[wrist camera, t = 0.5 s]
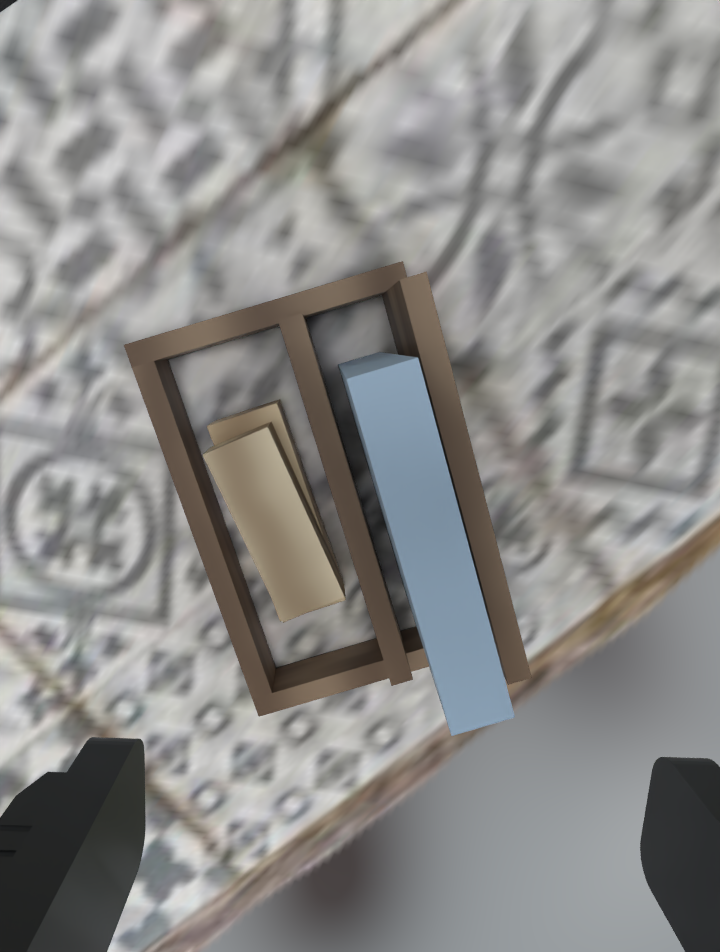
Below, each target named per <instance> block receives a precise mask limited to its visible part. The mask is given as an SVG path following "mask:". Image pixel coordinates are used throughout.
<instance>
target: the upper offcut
mask: <svg viewBox="0 0 720 952" xmlns="http://www.w3.org/2000/svg"><path fill="white" fill-rule="evenodd" d="M203 457H204V459H205V461H206V463H207V465H208V467H209V469H210V471H211V473H212V475H213V477H214V479H215V482H216V484H217V486H218V488H219V490H220V492H221V494H222V496H223V498H224V500H225V502H226V504H227V507H228V509H229V511H230V513H231V515H232V517H233V519H234V521H235V523H236V525H237V527H238V529H239V532H240V534H241V536H242V538H243V540H244V542H245V544H246V546H247V548H248V550H249V552H250V554H251V556H252V559H253V561H254V563H255V565H256V567H257V569H258V571H259V573H260V575H261V577H262V579H263V581H264V584H265V586H266V588H267V590H268V592H269V594H270V596H271V598H272V600H273V602H274V604H275V606H276V609H277V611H278V613H279V615H280V617H281V619H282V621H283V623H284V622H286V621H288V620H291V619H293V618H296V617H298V616H300V615H303V614H305V613H307V612H310V611H312V610H315V609H317V608H319V607H322V606H324V605H327V604H329V603H331V602H334V601H336V600H339V599H341V598H343V597H345V595H344V585H343V579H342V577H341V575H340V572H339V570H338V568H337V566H336V564H335V561H334V559H333V557H332V555H331V553H330V550H329V548H328V546H327V544H326V541H325V539H324V537H323V535H322V533H321V530H320V528H319V526H318V524H317V521H316V519H315V517H314V515H313V513H312V510H311V508H310V506H309V504H308V502H307V499H306V497H305V495H304V493H303V490H302V488H301V486H300V484H299V482H298V479H297V477H296V475H295V473H294V471H293V468H292V466H291V464H290V462H289V459H288V457H287V455H286V453H285V451H284V448H283V446H282V444H281V442H280V439H279V437H278V435H277V433H276V431H275V428H274V426H273V424H272V422H269V423H266V424H264V425H262V426H259V427H257V428H255V429H252V430H250V431H248V432H245V433H243V434H241V435H238V436H236V437H234V438H231V439H229V440H227V441H224V442H222V443H220V444H217V445H215V446H212V447H211V448H209V449H208V450H207V451H206V452H205V453H204V454H203Z"/></svg>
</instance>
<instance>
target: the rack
mask: <svg viewBox="0 0 720 952" xmlns="http://www.w3.org/2000/svg"><path fill="white" fill-rule="evenodd" d="M381 295H382V297H383V301H384V304H385V308H386V312H387V315H388V319H389V323H390V326H391V330H392V334H393V337H394V341H395V344H396V348H397V352H398V355H404V356H411V357H418V359H419V363H420V367H421V370H422V374H423V378H424V381H425V385H426V389H427V393H428V396H429V400H430V404H431V407H432V411H433V415H434V419H435V422H436V426H437V430H438V433H439V437H440V441H441V445H442V448H443V452H444V456H445V460H446V463H447V467H448V471H449V474H450V478H451V482H452V486H453V489H454V493H455V497H456V500H457V504H458V508H459V512H460V515H461V519H462V523H463V526H464V530H465V534H466V538H467V541H468V545H469V549H470V552H471V556H472V560H473V564H474V567H475V571H476V575H477V578H478V582H479V586H480V590H481V593H482V597H483V601H484V604H485V608H486V612H487V616H488V619H489V623H490V627H491V630H492V634H493V638H494V642H495V645H496V649H497V653H498V656H499V660H500V664H501V668H502V671H503V675H504V678H505V679H506V681H507V683H508V685H509V684H512V683H515V682H519V681H522V680H526V679H529V678H532V677H531V673H530V670H529V666H528V662H527V658H526V654H525V650H524V646H523V643H522V639H521V635H520V631H519V627H518V623H517V619H516V615H515V612H514V608H513V604H512V600H511V596H510V592H509V588H508V585H507V581H506V577H505V573H504V569H503V565H502V561H501V558H500V554H499V550H498V546H497V542H496V538H495V534H494V531H493V527H492V523H491V519H490V515H489V511H488V507H487V504H486V500H485V496H484V492H483V488H482V484H481V480H480V477H479V473H478V469H477V465H476V461H475V457H474V453H473V450H472V446H471V442H470V438H469V434H468V430H467V426H466V423H465V419H464V415H463V411H462V407H461V403H460V399H459V395H458V392H457V388H456V384H455V380H454V376H453V372H452V368H451V365H450V361H449V357H448V353H447V349H446V345H445V341H444V338H443V334H442V330H441V326H440V322H439V318H438V314H437V311H436V307H435V303H434V299H433V295H432V291H431V287H430V284H429V280H428V276H427V272H424V273H421V274H417V275H414V276H411V277H407V275H406V271H405V268H404V264H403V261H402V262H399V263H395V264H392V265H389V266H385V267H382V268H379V269H375V270H372V271H369V272H365V273H362V274H359V275H355V276H352V277H349V278H345V279H342V280H339V281H335V282H332V283H329V284H325V285H322V286H319V287H315V288H312V289H309V290H305V291H302V292H299V293H295V294H292V295H289V296H285V297H282V298H279V299H275V300H272V301H269V302H265V303H262V304H259V305H255V306H252V307H249V308H245V309H242V310H239V311H235V312H232V313H229V314H225V315H222V316H219V317H215V318H212V319H209V320H205V321H202V322H199V323H195V324H192V325H189V326H185V327H182V328H179V329H175V330H172V331H169V332H165V333H162V334H159V335H155V336H152V337H149V338H145V339H142V340H139V341H135V342H132V343H129V344H125V345H124V347H125V350H126V352H127V355H128V358H129V361H130V363H131V366H132V369H133V372H134V374H135V377H136V380H137V383H138V385H139V388H140V391H141V394H142V396H143V399H144V402H145V405H146V407H147V410H148V413H149V416H150V418H151V421H152V424H153V427H154V429H155V432H156V435H157V438H158V440H159V443H160V446H161V449H162V451H163V454H164V457H165V460H166V462H167V465H168V468H169V471H170V473H171V476H172V479H173V482H174V484H175V487H176V490H177V493H178V495H179V498H180V501H181V504H182V506H183V509H184V512H185V515H186V517H187V520H188V523H189V526H190V528H191V531H192V534H193V537H194V539H195V542H196V545H197V548H198V550H199V553H200V556H201V559H202V562H203V564H204V567H205V570H206V573H207V575H208V578H209V581H210V584H211V586H212V589H213V592H214V595H215V597H216V600H217V603H218V606H219V608H220V611H221V614H222V617H223V619H224V622H225V625H226V628H227V630H228V633H229V636H230V639H231V641H232V644H233V647H234V650H235V652H236V655H237V658H238V661H239V663H240V666H241V669H242V672H243V674H244V677H245V680H246V683H247V685H248V688H249V691H250V694H251V696H252V699H253V702H254V705H255V707H256V710H257V713H258V716H263V715H266V714H269V713H273V712H276V711H280V710H283V709H286V708H290V707H293V706H296V705H300V704H303V703H307V702H310V701H313V700H317V699H320V698H324V697H327V696H330V695H334V694H337V693H340V692H344V691H347V690H351V689H354V688H357V687H361V686H364V685H368V684H371V683H374V682H378V681H381V680H385V679H388V678H389V679H390V682H391V685H392V686H393V685H396V684H400V683H403V682H406V681H410V680H413V678H412V674H411V672H412V671H415V670H418V669H422V668H425V667H429V664H428V661H427V657H426V654H425V651H424V648H423V645H422V642H421V639H420V636H419V632H418V629H417V627H413V628H410V629H406V630H403V631H400V628H399V625H398V622H397V618H396V615H395V612H394V608H393V605H392V602H391V598H390V595H389V592H388V589H387V585H386V582H385V579H384V575H383V572H382V569H381V565H380V562H379V559H378V555H377V552H376V549H375V545H374V542H373V539H372V535H371V532H370V529H369V526H368V522H367V519H366V516H365V512H364V509H363V506H362V502H361V499H360V496H359V492H358V489H357V486H356V482H355V479H354V476H353V473H352V469H351V466H350V463H349V459H348V456H347V453H346V449H345V446H344V443H343V439H342V436H341V433H340V429H339V426H338V423H337V420H336V416H335V413H334V410H333V406H332V403H331V400H330V396H329V393H328V390H327V386H326V383H325V380H324V376H323V373H322V370H321V366H320V363H319V360H318V357H317V353H316V350H315V347H314V343H313V340H312V337H311V333H310V330H309V327H308V323H307V320H306V318H308V317H311V316H315V315H318V314H321V313H325V312H328V311H331V310H335V309H338V308H341V307H345V306H348V305H351V304H355V303H358V302H361V301H365V300H368V299H371V298H375V297H378V296H381ZM278 326H280V329H281V332H282V335H283V338H284V341H285V345H286V348H287V351H288V354H289V357H290V361H291V364H292V367H293V370H294V374H295V377H296V380H297V383H298V386H299V390H300V393H301V396H302V399H303V402H304V406H305V409H306V412H307V415H308V419H309V422H310V425H311V428H312V431H313V435H314V438H315V441H316V444H317V448H318V451H319V454H320V457H321V460H322V464H323V467H324V470H325V473H326V476H327V480H328V483H329V486H330V489H331V493H332V496H333V499H334V502H335V505H336V509H337V512H338V515H339V518H340V521H341V525H342V528H343V531H344V534H345V538H346V541H347V544H348V547H349V550H350V554H351V557H352V560H353V563H354V566H355V570H356V573H357V576H358V579H359V583H360V586H361V589H362V592H363V595H364V599H365V602H366V605H367V608H368V612H369V615H370V618H371V621H372V624H373V628H374V631H375V634H376V637H377V638H376V639H373V640H369V641H366V642H363V643H359V644H356V645H352V646H349V647H346V648H342V649H339V650H335V651H332V652H329V653H325V654H322V655H319V656H315V657H312V658H308V659H305V660H302V661H298V662H295V663H292V664H288V665H285V666H281V667H278V668H276V667H275V664H274V661H273V658H272V655H271V653H270V650H269V647H268V644H267V641H266V638H265V635H264V633H263V630H262V627H261V624H260V621H259V618H258V616H257V613H256V610H255V607H254V604H253V601H252V598H251V596H250V593H249V590H248V587H247V584H246V581H245V579H244V576H243V573H242V570H241V567H240V564H239V561H238V559H237V556H236V553H235V550H234V547H233V544H232V541H231V539H230V536H229V533H228V530H227V527H226V524H225V522H224V519H223V516H222V513H221V510H220V507H219V504H218V502H217V499H216V496H215V493H214V490H213V487H212V484H211V482H210V479H209V476H208V473H207V470H206V467H205V465H204V462H203V459H202V456H201V453H200V450H199V447H198V445H197V442H196V439H195V436H194V433H193V430H192V428H191V425H190V422H189V419H188V416H187V413H186V410H185V408H184V405H183V402H182V399H181V396H180V393H179V390H178V388H177V385H176V382H175V379H174V376H173V373H172V371H171V368H170V365H169V362H168V359H171V358H175V357H178V356H181V355H185V354H188V353H191V352H195V351H198V350H201V349H205V348H208V347H211V346H215V345H218V344H221V343H225V342H228V341H231V340H235V339H238V338H241V337H245V336H248V335H251V334H255V333H258V332H261V331H265V330H268V329H271V328H275V327H278Z"/></svg>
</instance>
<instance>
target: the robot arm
mask: <svg viewBox="0 0 720 952" xmlns="http://www.w3.org/2000/svg"><path fill="white" fill-rule="evenodd" d="M144 839H145V762H144V745H143V742H142V740H141V739H127V738H96V737H92V738H90V739H89V740H88V741H87V742H86V743H85V745H84V746H83V748H82V749H81V751H80V753H79V754H78V756H77V757H76V759H75V760H74V762H73V764H72V765H71V767H70V768H69V770H68V771H67V773H64V772H47V773H46V774H44V775H43V776H42V777H40V778H39V779H38V780H36V781H35V782H34V783H32V784H31V785H30V786H28V787H27V788H26V789H24V790H23V791H22V792H20V793H19V794H18V795H16V796H15V798H14V799H13V801H12V802H11V803H10V805H9V806H8V808H7V809H6V810H5V812H4V813H3V815H2V816H1V817H0V952H107V950H108V947H109V945H110V942H111V940H112V937H113V934H114V932H115V929H116V927H117V924H118V922H119V919H120V916H121V914H122V911H123V909H124V906H125V903H126V901H127V898H128V896H129V893H130V890H131V888H132V885H133V883H134V880H135V877H136V875H137V872H138V869H139V865H140V861H141V857H142V852H143V846H144ZM640 844H641V845H640V846H641V847H640V851H641V861H642V867H643V871H644V874H645V878H646V881H647V883H648V885H649V887H650V889H651V891H652V893H653V895H654V896H655V898H656V900H657V902H658V904H659V906H660V907H661V909H662V911H663V913H664V915H665V916H666V918H667V920H668V921H669V923H670V925H671V927H672V929H673V931H674V932H675V934H676V936H677V938H678V939H679V941H680V943H681V945H682V947H683V948H684V950H685V952H720V767H719V766H718V765H717V764H716V763H715V762H714V761H712V760H710V759H707V758H705V759H704V758H677V757H660V758H658V759H657V760H656V762H655V763H654V766H653V769H652V775H651V780H650V787H649V793H648V799H647V805H646V811H645V817H644V823H643V829H642V836H641V843H640Z"/></svg>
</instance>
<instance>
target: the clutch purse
mask: <svg viewBox="0 0 720 952" xmlns="http://www.w3.org/2000/svg"><path fill="white" fill-rule="evenodd" d="M14 1H16V0H0V12H1V11H2V10H3V9H5V8H6V7H8V6H9V5H10V4H12V3H13V2H14Z"/></svg>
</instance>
